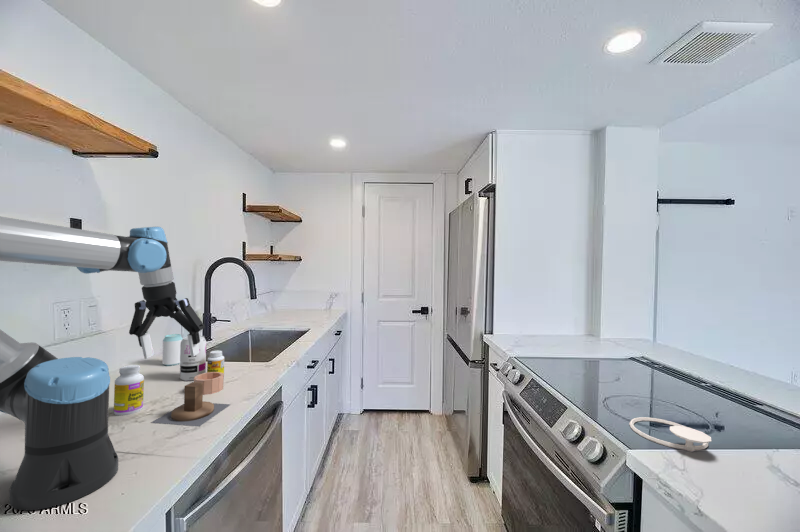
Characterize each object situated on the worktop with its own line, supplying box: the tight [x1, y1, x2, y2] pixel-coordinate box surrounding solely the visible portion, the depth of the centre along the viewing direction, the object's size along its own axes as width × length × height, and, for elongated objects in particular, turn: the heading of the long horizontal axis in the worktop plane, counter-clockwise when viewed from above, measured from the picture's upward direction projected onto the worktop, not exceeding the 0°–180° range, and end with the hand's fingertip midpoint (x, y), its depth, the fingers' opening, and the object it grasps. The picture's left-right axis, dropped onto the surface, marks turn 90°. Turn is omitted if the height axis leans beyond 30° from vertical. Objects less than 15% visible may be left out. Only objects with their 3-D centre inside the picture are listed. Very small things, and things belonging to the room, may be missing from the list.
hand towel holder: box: [628, 416, 712, 453], centre depth 91 cm, size 17×4×20 cm
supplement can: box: [179, 335, 207, 382], centre depth 127 cm, size 8×8×15 cm
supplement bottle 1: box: [113, 364, 145, 416], centre depth 98 cm, size 7×7×13 cm
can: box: [161, 333, 184, 367], centre depth 143 cm, size 7×7×12 cm
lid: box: [171, 381, 214, 421], centre depth 97 cm, size 10×10×8 cm
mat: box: [150, 402, 231, 428], centre depth 97 cm, size 14×14×1 cm
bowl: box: [193, 372, 225, 396], centre depth 114 cm, size 9×9×5 cm
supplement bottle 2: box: [206, 350, 225, 374], centre depth 126 cm, size 6×6×10 cm
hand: (172, 355), depth 97 cm, fingers open, 13 cm apart
